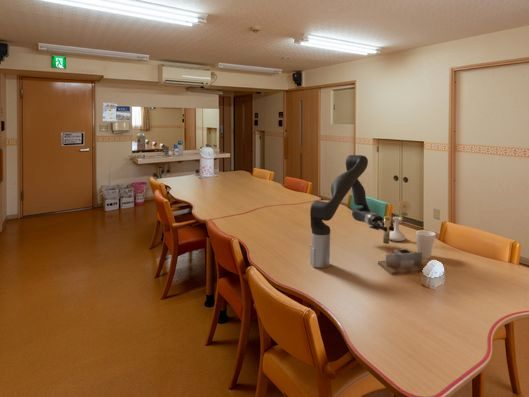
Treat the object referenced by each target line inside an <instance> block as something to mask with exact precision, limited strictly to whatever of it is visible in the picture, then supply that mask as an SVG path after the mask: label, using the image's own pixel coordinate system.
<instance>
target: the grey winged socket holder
mask: <svg viewBox="0 0 529 397" xmlns="http://www.w3.org/2000/svg"><path fill="white" fill-rule="evenodd" d="M422 260H423V258H422V252H417V251H414V252H413V251H412V250H410V249H408V248H400V249H393V253H392V254H391V253H390V254H389V253H388V254H387V253H386V254H385V260H384V261H385V266H386V267H388V266H398V267H400V268H408V267H414V264H421V263H422V264H423V262H422Z"/></svg>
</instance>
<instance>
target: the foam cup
mask: <svg viewBox="0 0 529 397" xmlns="http://www.w3.org/2000/svg"><path fill="white" fill-rule="evenodd" d="M415 232H416V233H415V237H416V248H417V249H416V252H422V259H429V258H431V256H432V252H433V248H434V244H435V240H436V236H437V235H436V233H435V232H434V231H431V230H423V229H422V230H416V231H415Z"/></svg>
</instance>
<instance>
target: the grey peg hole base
mask: <svg viewBox="0 0 529 397" xmlns="http://www.w3.org/2000/svg"><path fill="white" fill-rule="evenodd" d="M385 261H386V260H378V261H377V265H379V266H380V267H381V268H382V269H384V270H385V271H386V272H387V273H388V274H390V275H391V276H397V275H407V274H419V273H423V272H422V270H423V268H424V267H425V266H426V265H425V264H424V263H423V262H422V263H421V264H414V267H408V268H400V267H398V266H388V267H386V266H385Z"/></svg>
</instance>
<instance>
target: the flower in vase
mask: <svg viewBox="0 0 529 397" xmlns="http://www.w3.org/2000/svg"><path fill="white" fill-rule="evenodd" d="M398 209H399V210H400V214H397V213H395V212H393V213H394V215H395V216H393V217H392V219H393V222H394V231H391V230H390V237H389V241H394V242H402V241H405V240H406V239H407V236H406V235H405V234H404V233H403V232H402V231H400V229H399V226H400V222H401V220H402V217H400V216H401V215H402V216H403V217H407V216H408V215H409V213H408V212H410V211H411V209H412V206H411V203H410V202H409V201H408V200H406V199H405V200H404V199H402V200H401V201H399V203H398Z"/></svg>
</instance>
